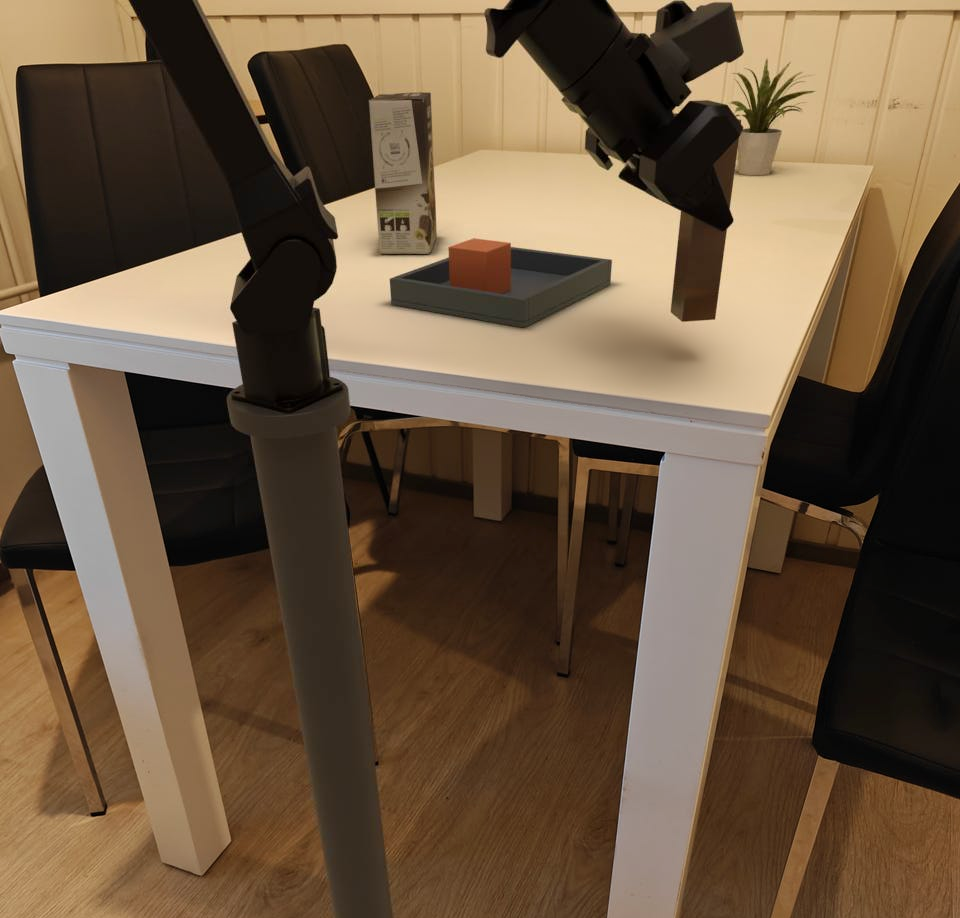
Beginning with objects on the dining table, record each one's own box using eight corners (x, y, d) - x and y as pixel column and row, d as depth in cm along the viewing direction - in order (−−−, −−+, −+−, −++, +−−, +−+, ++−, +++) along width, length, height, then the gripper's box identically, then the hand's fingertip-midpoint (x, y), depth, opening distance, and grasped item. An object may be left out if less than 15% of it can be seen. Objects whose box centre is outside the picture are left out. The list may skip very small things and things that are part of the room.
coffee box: (431, 254, 108) (424, 97, 99) (378, 255, 109) (366, 98, 99) (438, 238, 116) (432, 90, 106) (388, 238, 116) (378, 91, 107)
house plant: (758, 184, 144) (776, 62, 134) (691, 174, 153) (703, 59, 143) (812, 173, 151) (833, 57, 141) (745, 164, 160) (761, 54, 150)
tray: (524, 327, 84) (524, 299, 82) (391, 304, 91) (389, 278, 89) (610, 284, 96) (612, 259, 94) (487, 267, 103) (486, 243, 101)
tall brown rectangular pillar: (682, 322, 72) (704, 121, 64) (670, 312, 75) (690, 117, 67) (715, 319, 73) (741, 119, 65) (702, 310, 75) (726, 115, 67)
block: (487, 300, 90) (486, 251, 87) (449, 294, 92) (448, 246, 89) (511, 289, 93) (511, 242, 90) (474, 284, 95) (473, 238, 92)
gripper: (734, -57, 52) (868, 152, 60) (635, -44, 67) (752, 122, 75) (593, 106, 56) (737, 284, 63) (529, 84, 71) (652, 229, 78)
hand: (720, 222), depth 70 cm, fingers closed on tall brown rectangular pillar, 3 cm apart
